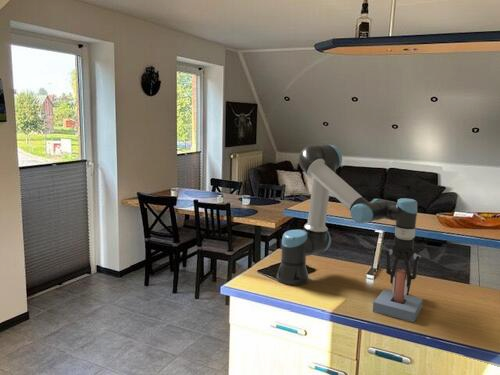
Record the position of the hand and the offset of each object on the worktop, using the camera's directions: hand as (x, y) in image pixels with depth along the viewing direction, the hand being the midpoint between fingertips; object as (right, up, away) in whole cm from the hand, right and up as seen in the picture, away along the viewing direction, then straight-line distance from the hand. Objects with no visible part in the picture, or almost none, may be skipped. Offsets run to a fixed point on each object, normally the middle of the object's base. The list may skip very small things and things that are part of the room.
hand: (399, 292), depth 172 cm
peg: (0, -5, +1) cm, 5 cm away
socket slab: (0, -7, +1) cm, 7 cm away
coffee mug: (+6, -5, +17) cm, 18 cm away
